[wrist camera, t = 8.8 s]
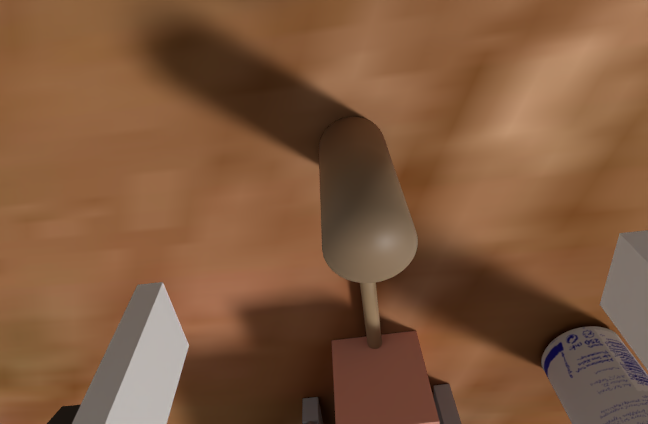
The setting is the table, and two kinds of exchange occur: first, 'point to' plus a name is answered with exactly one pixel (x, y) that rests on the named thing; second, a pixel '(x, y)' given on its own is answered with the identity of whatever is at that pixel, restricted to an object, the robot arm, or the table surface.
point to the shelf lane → (441, 398)
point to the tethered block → (370, 276)
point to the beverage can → (596, 377)
